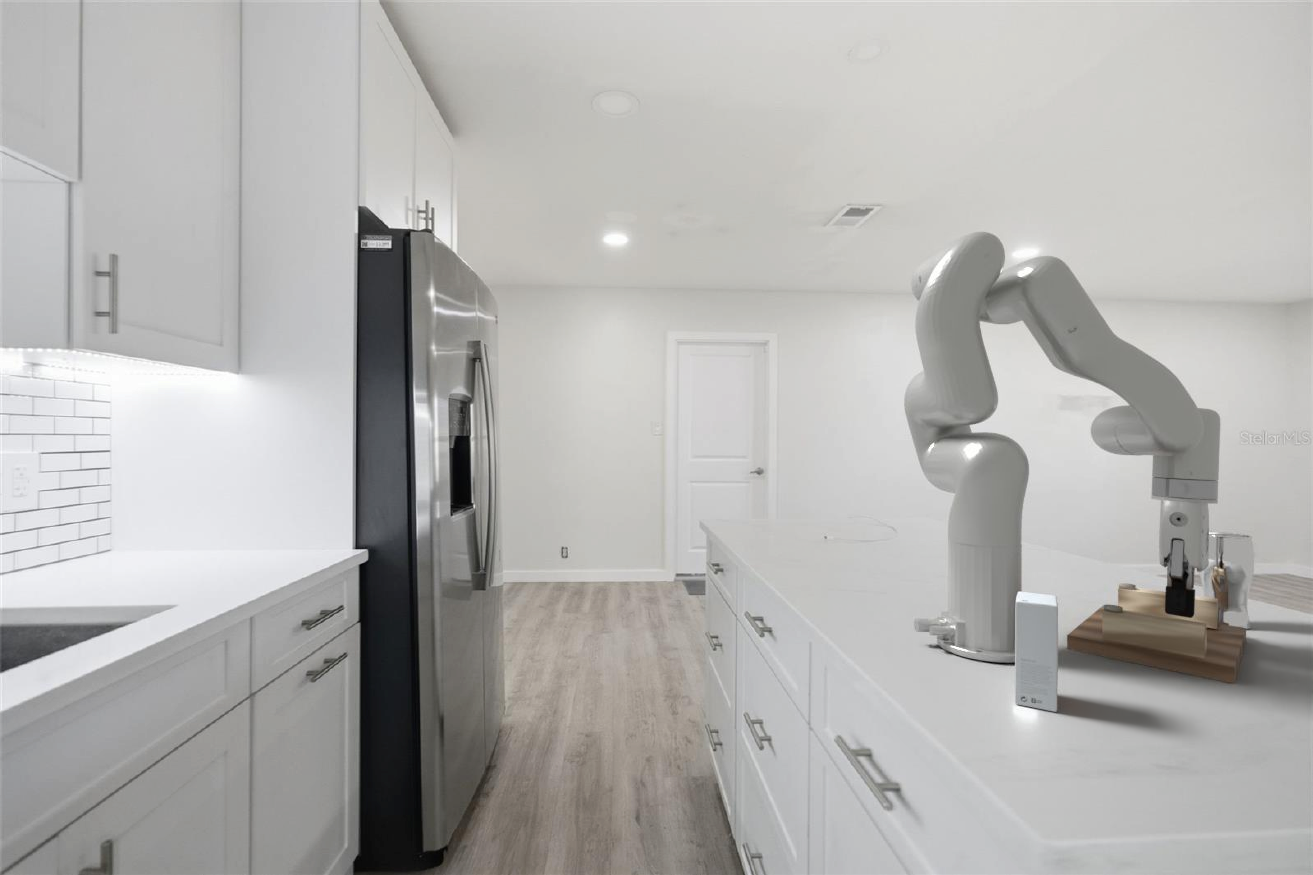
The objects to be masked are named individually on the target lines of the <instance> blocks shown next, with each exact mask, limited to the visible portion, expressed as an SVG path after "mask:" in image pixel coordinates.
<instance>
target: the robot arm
mask: <svg viewBox="0 0 1313 875" xmlns="http://www.w3.org/2000/svg"><path fill="white" fill-rule="evenodd" d="M1005 263H1006V251H1005V247H1004V245H1003V243H1002V241H1001V239H1000V238H999V237H998V236H996V235H995V234H993V233H990V232H989V231H988V232H987V231H977V232H976V231H975V232H972V233H969V234H965V235H963V236H960V237H959V238H957V239H956V240H954V241H952V242H950V243H948V244H947V245H946V246H944V247H943V248H941V249H940V250H938V251H937V252H935V253H933V254H932V255H930V256H928V257H927V258H925V259H924V260H923V261H922V262H921V263H919V264H918V265H917V267H916V269H915V270H914V272H913V274H912V277H911V282H910V283H911V284H910V285H911V291H912V293H913V295H914V297H915V299H916V300H917V301H918V304H917V308H916V311H915V312H916V313H915V321H914V322H915V325H914V326H915V335H916V342H917V345H918V346H917V348H918V351H919V356H920V359H921V360H920V361H921V364H922V368H923V370H922V371H920V372H919V373H917V374H915V376H914V377H913V378H912V379H911V380H910V381H909V383H908V384H907V386H906V390H905V393H904V397H903V398H904V399H903V401H904V404H903V405H904V413H905V414H904V415H905V417H906V421H907V424H908V428H909V431H910V432H909V433H910V435H911V439H912V442H913V445H914V448H915V453H916V456H917V459H918V462H919V465H920V468H921V470H922V472H923V475H924V476H925V478H926V479H927V481H928V482H929V483H930V484H931V485H933V486H934V487H935V488H936V489H939V490H940V491H943V492H946V493H952V494H954V498H953V500H952V504H951V507H950V511H949V516H948V523H947V541H948V544H947V545H948V546H947V547H948V548H947V551H948V553H947V554H948V555H947V556H948V558H947V561H948V562H947V565H948V566H947V568H948V569H947V571H948V572H947V573H948V576H947V577H948V578H947V579H948V580H947V582H948V583H947V585H948V588H947V591H948V592H947V595H948V596H947V597H948V598H947V603H948V606H947V608H948V609H947V611H941V616H937V617H935V619H929V618H914V621H913V625H914V626H913V628H914V630H915V632H916V633H917V632H918V633H929V635H930V636H936V643H937V645H938V646H939V648H942V649H944V650H945V651H947V652H949V653H951V654H954V655H957V656H960V657H963V658H968V659H972V660H977V661H984V662H990V663H1008V664H1010V663H1011V664H1013V663H1014V664H1015V606H1016V596H1017V594H1018V592H1019V591H1020V592H1023V591H1022V590H1023V583H1022V580H1023V579H1022V578H1023V577H1022V576H1023V574H1022V573H1023V572H1022V571H1023V570H1022V568H1023V566H1022V563H1023V562H1022V560H1023V558H1022V553H1023V550H1022V547H1023V546H1022V528H1023V527H1022V525H1023V524H1022V523H1023V522H1022V521H1023V509H1024V502H1025V496H1026V491H1027V486H1028V483H1029V476H1030V464H1029V463H1030V462H1029V460H1028V456H1027V454H1026V452H1025V450H1024V449H1023V447H1022V446H1021V445H1020V444H1019V443H1018V442H1017V441H1016V440H1014V439H1013V438H1011V437H1009V436H1008V435H1004V434H1001V433H996V432H989V431H988V432H987V431H985V432H981V431H980V432H972V429H971V428H972V427H971V426H972V425H978V424H980V423H983V422H985V421H986V420H988V419H989V418H991V417H992V416H993V414H994V413H995V412H996V410H997V408H998V404H999V392H998V388H997V384H996V380H995V378H994V375H993V370H992V367H991V364H990V360H989V356H988V354H987V350H986V346H985V342H984V340H983V335H982V330H981V329H982V328H981V323H980V322H983V323H988V324H994V325H1010V324H1015V323H1020V322H1021V321H1022V322H1023V323H1024V325H1025V327H1026V328H1027V329H1028V331H1029V333H1031V335H1032V336H1033V338H1034V339H1035V341H1036V343H1037V344H1038V345H1039V347H1040V348H1041V350H1042V351H1043V353H1044V354H1045V356H1046V357H1047V359H1048V361H1049V362H1050V364H1051V365H1052V366H1053V367H1054V368H1055V369H1057V370H1059V371H1061V372H1064V373H1066V374H1069V375H1071V376H1074V377H1077V378H1081V379H1084V380H1087V381H1090V382H1093V383H1095V384H1098V385H1101V386H1103V387H1105V388H1106V389H1108V390H1110V391H1112V392H1113V393H1115V394H1116V395H1118V396H1119V397H1120V398H1121V399H1123V400H1124V401H1125V402H1126V403H1127V404H1128V405H1119V406H1114V407H1109V408H1108V409H1105V410H1104V411H1102V412H1100V413H1099V414H1097V415H1096V417H1094V419H1093V421H1092V422H1091V426H1090V435H1091V438H1092V440H1093V442H1094V443H1095V444H1096V446H1098V447H1099V448H1100V449H1101V450H1104V451H1106V452H1107V453H1109V454H1110V453H1111V454H1114V455H1118V456H1119V455H1120V456H1152V475H1151V476H1152V477H1151V498H1150V499H1152V500H1158V501H1160V507H1159V508H1160V511H1159V531H1158V532H1159V533H1158V534H1159V537H1158V538H1159V539H1158V548H1159V550H1158V551H1159V552H1158V553H1159V554H1158V556H1159V565H1161V566H1162V567H1163V568H1166V570H1167V572H1166V586H1165V592H1166V593H1165V612H1166V613H1167V614H1171V615H1176V616H1182V617H1188V618H1192V617H1193V616H1194V608H1195V596H1196V589H1195V588H1194V586H1195V572H1198V573H1199V572H1202V571H1203V570H1205V569H1206V568H1207V567H1208V565H1209V532H1210V515H1209V514H1210V511H1209V504H1210V505H1211V504H1215V505H1216V504H1218V501H1219V500H1218V498H1219V497H1218V496H1219V476H1220V475H1219V472H1220V467H1219V466H1220V447H1221V446H1220V444H1221V443H1220V442H1221V416H1220V414H1219V413H1218V412H1217V411H1216V410H1213V409H1210V408H1203V407H1201V408H1200V407H1198V406H1197V404H1196V403H1195V400H1194V399H1193V398H1192V396H1191V394H1190V393H1189V392H1188V390H1187V388H1186V387H1185V386H1184V385H1183V383H1182V382H1181V380H1180V379H1179V377H1177V376H1176V374H1175V373H1173V371H1172V370H1170V369H1169V368H1168V367H1167V366H1166V365H1164V364H1163V363H1161V362H1160V361H1159V360H1157V359H1156V358H1154V357H1152V356H1151V355H1150V354H1148V353H1146V352H1144V351H1143V350H1141V349H1140V348H1138V347H1136V346H1134V344H1132V343H1129V342H1128V341H1125V340H1123V339H1121V338H1120V337H1119V336H1117V335H1116V333H1114V332H1113V330H1112V329H1111V328H1110V326H1109V325H1108V323H1107V321H1106V320H1105V318H1104V317H1103V315H1102V314H1101V312H1100V311H1099V309H1098V308H1097V306H1096V305H1095V304H1094V302H1093V300H1091V298H1090V297H1089V295H1088V293H1087V292H1086V290H1085V289H1084V287H1083V286H1082V285H1081V283H1080V281H1079V279H1077V277H1076V275H1075V274H1074V273H1073V271H1072V270H1071V268H1070V267H1069V265H1068V264H1067V263H1066V262H1065V261H1063V260H1062V259H1061V258H1058V257H1056V256H1052V255H1043V256H1041V255H1040V256H1037V257H1033V258H1030V259H1027V260H1024V261H1021V262H1019V263H1017V264H1015V265H1012V266H1010V267H1008V268H1007V269H1004V266H1005ZM1195 570H1196V571H1195Z"/></svg>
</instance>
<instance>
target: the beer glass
mask: <svg viewBox="0 0 1313 875" xmlns="http://www.w3.org/2000/svg"><path fill="white" fill-rule="evenodd" d="M1254 555H1255V552H1254V544H1253V536H1252V535H1249V534H1243V533H1237V532H1236V533H1235V532H1223V531H1209V565H1208V567H1207V568H1206V569H1205V570H1203V571H1202V572H1198V574H1199V579H1200V582H1201V583H1200V584H1201V587H1202V592H1203V597H1208V598H1216V599H1218V605H1220V624H1223V625H1230V626H1236V627H1242V628H1246V630H1249V629H1251V625H1252V624H1251V622H1250V621H1251V620H1250V617H1249V613H1248V600H1249V595H1250V591H1251V587H1252V583H1253V577H1254V571H1255V556H1254Z"/></svg>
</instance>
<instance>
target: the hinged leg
mask: <svg viewBox="0 0 1313 875" xmlns="http://www.w3.org/2000/svg"><path fill="white" fill-rule="evenodd" d="M1136 586H1137V585H1136V584H1133V583H1125V582H1120V583H1118V589H1117V590H1118V591H1117V603H1118V604H1117V606H1120V607H1123V610H1126V611H1132V612H1138V613H1145V614H1151V615H1157V616H1163V617H1170V618H1176V619H1182V620H1188V621H1195V622H1201V623H1207V628H1214V629H1217V626H1218V599H1216V598H1208V597H1204V596H1200V595H1195V608H1194V616H1193V617H1192V618H1188V617H1182V616H1176V615H1171V614H1167V613H1166V612H1165V593H1166V591H1163V590H1162V591H1161V590H1155V589H1148V588H1147V589H1146V588H1141V587H1136Z"/></svg>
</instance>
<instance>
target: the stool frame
mask: <svg viewBox="0 0 1313 875" xmlns="http://www.w3.org/2000/svg"><path fill="white" fill-rule="evenodd" d="M1066 642H1067V643H1066V646H1067V647H1066V649H1067V650H1072V651H1077V652H1080V653H1086V654H1092V655H1096V656H1100V657H1106V658H1111V659H1115V660H1118V661H1125V662H1130V663H1133V664H1139V665H1144V666H1150V667H1155V668H1157V669H1158V668H1159V669H1163V670H1168V671H1174V672H1177V673H1178V672H1179V673H1183V674H1188V675H1193V676H1198V677H1202V678H1208V679H1212V680H1216V681H1221V682H1226V683H1230V684H1236V680H1237V676H1238V672H1239V668H1240V667H1241V666H1240V665H1241V661H1242V657H1243V654H1244V650H1245V646H1246V643H1247V629H1246V628H1242V627H1236V626H1230V625H1223V624H1220V605H1218V626H1217V629H1214V628H1207V623H1201V622H1195V621H1188V620H1182V619H1176V618H1170V617H1163V616H1157V615H1151V614H1145V613H1138V612H1132V611H1126V610H1123V607H1120V606H1118V605H1116V604H1103V605H1102V606H1101V607H1099V608H1098V609H1097V610H1096V611H1095V612H1093V613H1092V614H1091V615H1089V616H1088V617H1087V618H1086V619H1085V620H1084V621H1083V622H1081V623H1080V624H1079V625H1077V626H1076V627H1075V628H1074V629H1072V631H1070V632H1069V633H1068V634H1067V635H1066Z"/></svg>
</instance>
